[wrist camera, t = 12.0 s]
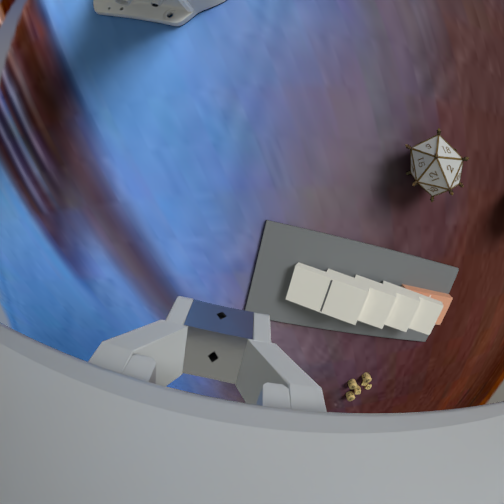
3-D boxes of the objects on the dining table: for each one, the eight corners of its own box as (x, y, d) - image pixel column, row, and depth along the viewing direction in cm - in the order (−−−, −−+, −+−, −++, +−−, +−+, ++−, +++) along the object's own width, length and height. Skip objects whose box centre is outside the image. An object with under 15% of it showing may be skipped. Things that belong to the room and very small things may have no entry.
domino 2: (315, 304, 40) (382, 329, 37) (326, 272, 38) (396, 297, 35) (317, 300, 41) (382, 323, 38) (328, 268, 40) (396, 292, 37)
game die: (415, 151, 38) (472, 135, 29) (424, 207, 38) (484, 197, 29) (381, 137, 34) (447, 113, 25) (392, 202, 33) (464, 188, 25)
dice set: (345, 395, 50) (347, 402, 48) (342, 377, 48) (344, 384, 46) (370, 386, 49) (373, 393, 47) (369, 369, 47) (372, 376, 46)
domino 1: (285, 299, 40) (355, 325, 37) (295, 265, 38) (369, 291, 35) (288, 295, 41) (356, 319, 38) (298, 262, 40) (369, 287, 36)
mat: (244, 313, 43) (244, 314, 42) (266, 219, 38) (266, 220, 38) (424, 340, 45) (425, 341, 44) (457, 267, 40) (458, 269, 39)
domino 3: (343, 309, 40) (406, 332, 37) (355, 277, 39) (420, 301, 35) (344, 305, 42) (405, 327, 38) (356, 274, 40) (419, 297, 37)
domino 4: (370, 314, 40) (429, 335, 37) (383, 284, 39) (443, 306, 35) (371, 310, 42) (428, 330, 39) (383, 280, 40) (441, 301, 37)
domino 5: (393, 318, 41) (440, 324, 41) (406, 288, 39) (452, 298, 39) (389, 312, 42) (435, 319, 43) (402, 284, 40) (447, 293, 41)
